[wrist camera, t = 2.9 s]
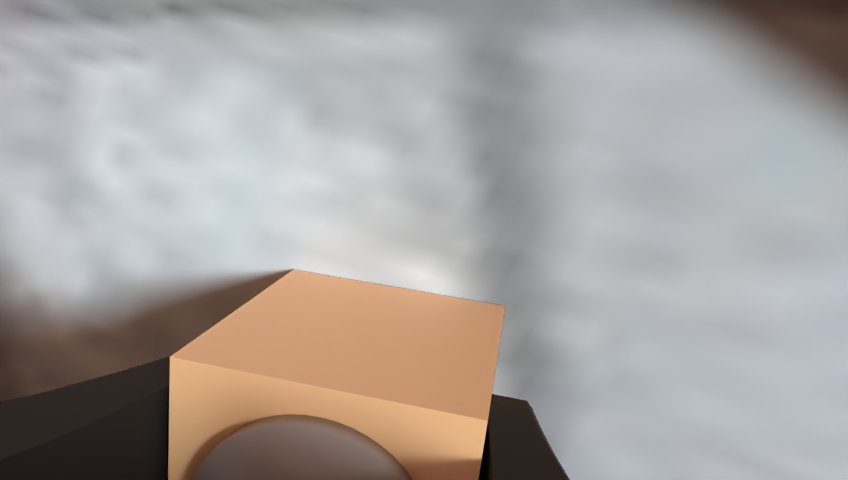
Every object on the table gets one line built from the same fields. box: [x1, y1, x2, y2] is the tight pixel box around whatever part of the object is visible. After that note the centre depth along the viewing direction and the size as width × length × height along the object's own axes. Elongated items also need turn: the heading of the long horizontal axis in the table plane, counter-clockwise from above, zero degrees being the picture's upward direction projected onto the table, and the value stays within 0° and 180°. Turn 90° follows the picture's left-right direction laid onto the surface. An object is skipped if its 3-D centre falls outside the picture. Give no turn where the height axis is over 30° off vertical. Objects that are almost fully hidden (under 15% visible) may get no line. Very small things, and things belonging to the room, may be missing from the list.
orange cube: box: [168, 270, 505, 480], centre depth 10 cm, size 4×4×4 cm
